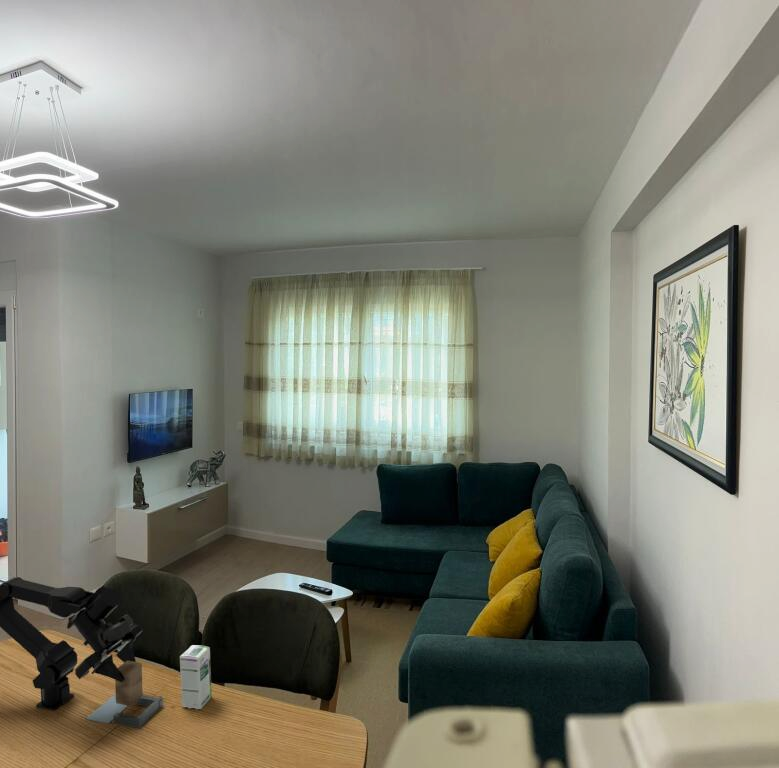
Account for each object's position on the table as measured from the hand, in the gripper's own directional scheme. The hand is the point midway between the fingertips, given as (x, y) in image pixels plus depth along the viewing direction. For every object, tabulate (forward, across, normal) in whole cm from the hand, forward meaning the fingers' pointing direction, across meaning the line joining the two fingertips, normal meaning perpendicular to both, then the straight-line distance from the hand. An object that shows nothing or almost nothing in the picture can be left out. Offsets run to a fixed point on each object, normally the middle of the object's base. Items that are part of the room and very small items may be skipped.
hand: (130, 675), depth 141 cm
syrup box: (+18, +8, -3) cm, 19 cm away
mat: (+3, 0, +12) cm, 12 cm away
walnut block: (+4, 0, +5) cm, 7 cm away
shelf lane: (+9, 0, +6) cm, 11 cm away
